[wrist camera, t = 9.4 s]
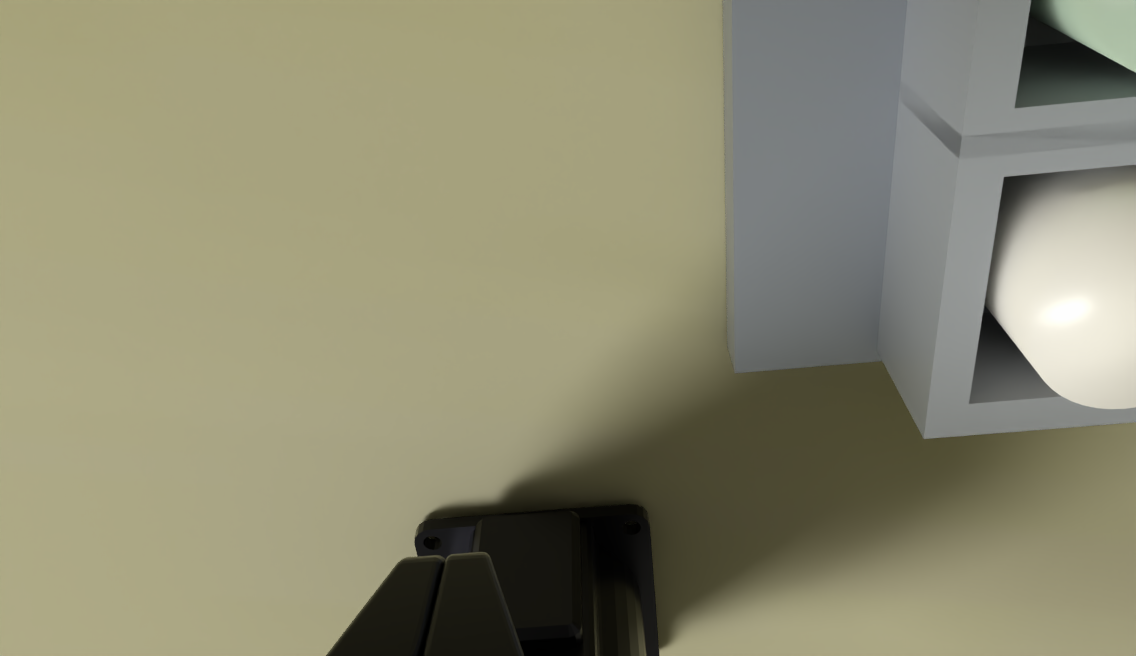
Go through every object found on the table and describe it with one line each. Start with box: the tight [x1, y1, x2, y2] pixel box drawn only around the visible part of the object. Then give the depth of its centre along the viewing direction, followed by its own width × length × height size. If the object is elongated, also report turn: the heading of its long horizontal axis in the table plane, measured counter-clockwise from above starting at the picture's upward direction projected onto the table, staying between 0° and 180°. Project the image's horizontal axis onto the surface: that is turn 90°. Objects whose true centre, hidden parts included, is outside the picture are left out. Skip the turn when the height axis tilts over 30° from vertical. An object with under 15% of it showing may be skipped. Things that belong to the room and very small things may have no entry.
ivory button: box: [984, 165, 1136, 409], centre depth 18 cm, size 4×4×4 cm
